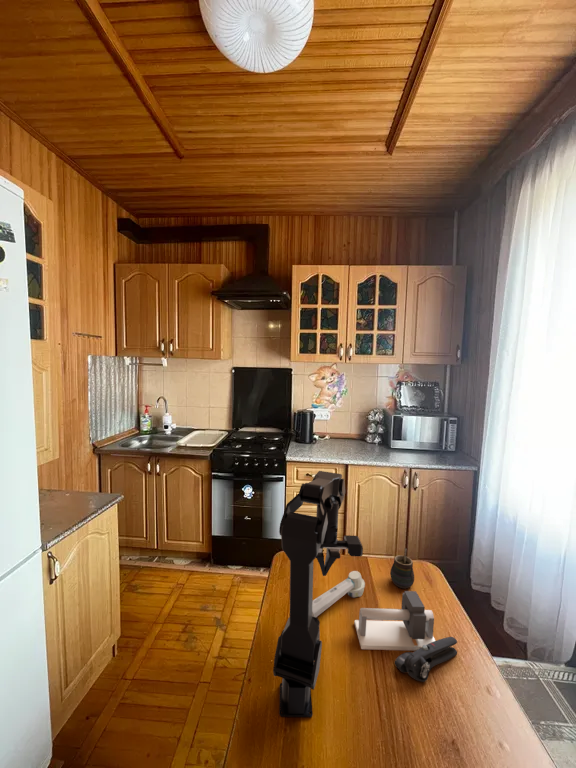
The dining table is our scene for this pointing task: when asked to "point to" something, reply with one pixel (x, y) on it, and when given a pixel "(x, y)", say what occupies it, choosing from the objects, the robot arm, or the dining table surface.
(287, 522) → the robot arm
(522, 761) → the dining table surface
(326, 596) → the light grey long piece
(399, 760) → the dining table surface
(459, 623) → the dining table surface
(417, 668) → the can opener
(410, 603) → the stepped block
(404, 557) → the mate gourd
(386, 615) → the pipe stand
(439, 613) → the dining table surface
